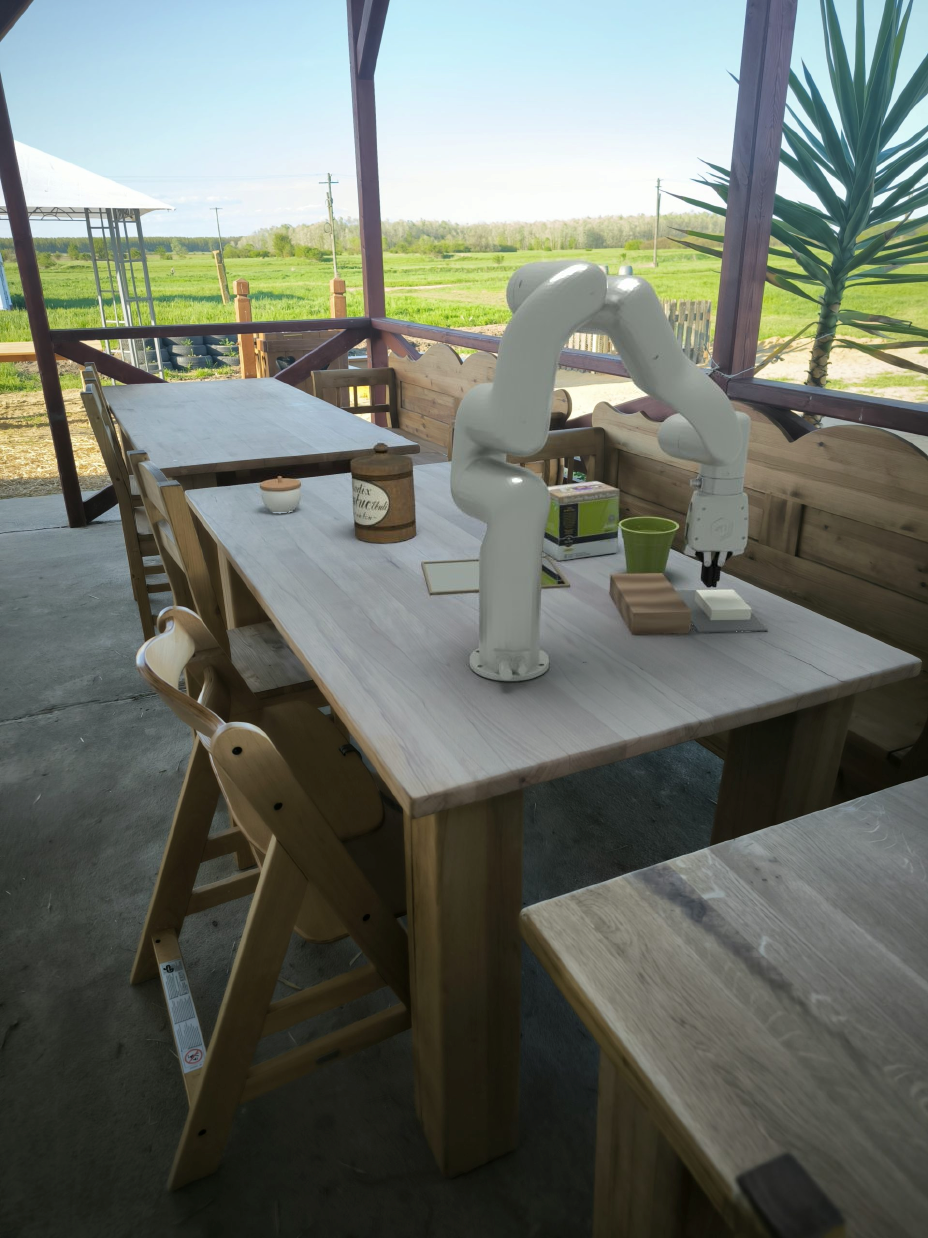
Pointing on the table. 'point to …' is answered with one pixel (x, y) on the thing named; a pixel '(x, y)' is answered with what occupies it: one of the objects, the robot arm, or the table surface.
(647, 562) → the plant pot
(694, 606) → the mat
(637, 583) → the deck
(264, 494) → the lidded jar
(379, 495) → the wooden container
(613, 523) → the tea box
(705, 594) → the cream white slab
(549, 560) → the picture frame
